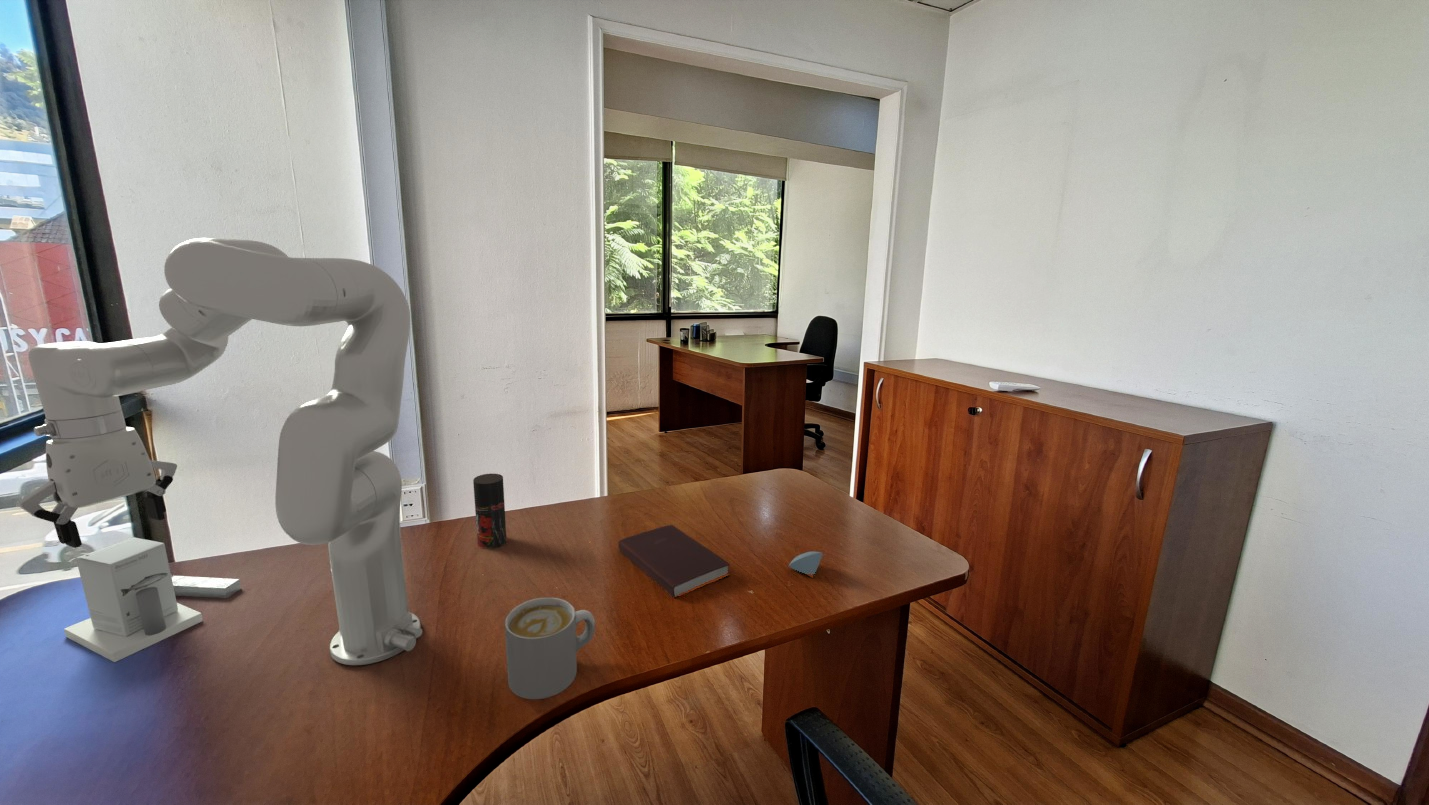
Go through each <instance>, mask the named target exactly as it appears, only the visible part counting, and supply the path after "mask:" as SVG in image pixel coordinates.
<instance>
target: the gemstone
mask: <svg viewBox="0 0 1429 805" xmlns="http://www.w3.org/2000/svg"><path fill="white" fill-rule="evenodd" d="M823 554H824V553H823V552H821V551H814V550H813V551H807V552H805V553H804V552H803V553H802V554H799V555H797V556H795V557H794V558H793V559H792V560H791V561H790V563H789V564H788V567H789V568H790V569H792V570H794V571H796V570H797V571H796V572H798V571H799V572H798V573H800V572H802V573H805V574H811V575H812V574H815V575H816V573H815V572H817V570H818V568H819V565H820V563H821V560H822V557H823ZM802 573H801V574H802Z"/></svg>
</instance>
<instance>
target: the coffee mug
mask: <svg viewBox="0 0 1429 805" xmlns="http://www.w3.org/2000/svg"><path fill="white" fill-rule="evenodd" d="M581 621H584V624H585V627H584V631H583V632H582V633H581V634H579V635H577V631H576V630H577V626H578V624H579V623H580V622H581ZM595 629H596V620H595V617H594V616H593V613H592V612H590V611H589V610H587V609H580V610H576V609H575V607H574V606H573V605H572V604H571V603H570V602H569V601H567V600H564V599H563V598H562V599H561V598H559V597H550V596H549V597H538V598H533V599H530V600H527V601H524V602H522V603H520V604H519V605H516V606H515V607H514V608H513V609H512V610H511V611H509V612H508V614H507V616H506V617H505V621H504V635H505V651H506V652H505V653H506V667H507V668H506V669H507V681H508V682H507V683H508V687H509V689H510V691H511V692H512V693H513V694H514V695H516V696H517V697H519V698H522V699H525V700H526V699H527V700H541V699H542V700H543V699H547V698H551V697H553V696H556V695H558V694H560V693H562V692H564V690H566V689H567V688H569V686H570V685H572V683H573V682H574V681H575V678H576V677H577V673H578V670H577V669H578V666H577V664H578V663H577V662H578V661H577V653H578V651H579V650H580V649H582V648H583V647H584V646H585V645H587V644H588V643H589V642H590V641H591V640H592V639H593V637H594V635H595V631H596V630H595Z"/></svg>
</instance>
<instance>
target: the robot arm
mask: <svg viewBox="0 0 1429 805" xmlns="http://www.w3.org/2000/svg"><path fill="white" fill-rule="evenodd" d="M163 273H164V278H165V280H166V283H167V285H168V287H169V289H167V290H165V292H164V293H162V295H161V296H160V298H159V301H158V308H159V310H160V311H159V312H160V314H161V316H162V318H163V320H165V322H166V323H167V324H168V325H169V326H170V328H169V329H167V330H166V331H165V332H162V333H161V334H158V335H156V336H150V337H141V338H133V339H125V340H118V341H111V342H103V343H98V342H95V341H84V340H83V341H61V342H59V341H58V342H51V343H44V344H38V345H36V346H33V347H32V348H31V349H30V350H28V355H27V356H28V362H29V365H30V367H31V372H32V375H33V379H34V382H35V386H36V390H37V393H38V397H39V400H40V402H41V407H42V410H43V412H44V413H43V414H44V415H45V419H43V421H44V423H43V424H42V425H40V426H35V427H33V432H34V434H35V436H37V437H41V436H45V437H47V436H48V437H50V438H51V439H48V440H46V443H45V463H46V464H45V465H46V472H47V480H48V482H47V483H45V484H43V485H42V486H40V487H39V488H37V489H36V490H34V491H32V492H30V493H29V494H28V495H26V496H24V497H23V498H21V499H20V500H18V501H17V502H16V506H17V507H19V508H20V509H22V510H23V511H24V512H26V513H28V514H30V515H31V516H32V517H34V518H37V519H40V520H44V521H47V522H51V523H53V525H54V528H55V532H56V535H57V539H58V541H59V543H60V544H63V545H66V546H68V547H71V548H74V549H76V548H79V547H81V546H82V545H83V543H82V539H81V537H80V532H79V530H78V526H77V523H76V522H75V520H71V518H72V517H73V516H74V514H75V513H76V512H77V510H78V509H80V508H81V509H82V508H87V507H91V506H94V505H98V504H103V503H105V502H109V501H113V500H116V499H120V498H124V497H127V496H131V495H134V494H137V493H141V492H145V493H146V494H144V496H143V500H144V503H145V506H146V511H147V516H148V518H149V519H152V520H156V521H164V520H165V514H164V513H166V512H167V509H166V505H165V501H164V497H163V496H164V495H165V494H166V490H167V489H168V487H169V486H170V485H171V483H172V482H173V481H174V476H175V474H176V471H177V468H178V465H177V463H173V462H169V461H160V460H154V459H153V460H152V459H151V458H150V456H149V454H148V452H147V450H146V447H145V445H144V442H143V440H142V439H141V437H140V435H139V433H138V432H137V430H136V428H135V427H131V426H127V425H126V420H125V416H124V412H123V409H122V405H121V400H120V397H121V396H126V395H131V394H136V393H139V392H142V391H147V390H151V389H157V388H162V387H167V386H172V385H176V384H178V383H179V384H180V383H181V382H184V381H186V380H188V379H191V378H192V377H194V376H196V375H197V374H199V373H200V372H202V371H203V370H205V369H206V368H207V367H209V366H210V365H212V364H214V362H216V361H217V360H219V359H220V358H221V357H222V355H224V352H225V351H226V349H227V347H228V344H229V337H230V336H231V335H232V334H233V333H235V332H236V331H238V330H239V329H241V328H242V327H243V326H245V325H246V324H247V323H249V322H250V321H252V320H256V321H261V322H264V323H265V322H266V323H270V324H275V325H282V326H289V327H310V326H319V325H326V324H333V323H340V322H346V324H347V327H346V328H347V329H346V331H345V332H344V335H343V336H342V338H341V340H340V342H339V345H338V348H337V350H336V354H335V358H334V372H333V379H332V386H331V388H330V391H328V393H327V394H326V395H324V396H320V397H317V398H314V399H312V400H309V401H307V402H305V403H303V404H301V405H299V406H298V407H297V408H295V409H294V410H293V411H292V412H290V414H289V415H288V416H287V418H286V419H285V421H284V423H283V425H282V428H281V429H280V430H281V431H280V432H279V437H278V438H279V439H278V446H277V447H278V448H277V463H276V464H277V467H276V478H275V479H276V480H275V481H276V482H275V484H276V485H275V497H274V498H275V504H274V505H275V506H274V507H275V513H276V518H277V520H278V523H279V525H280V528H281V529H282V530H283V532H284V533H285V534H286V535H287V536H288V537H289V538H291V540H293V541H295V542H297V543H300V544H302V545H308V546H317V545H323V544H327V543H328V556H329V564H330V572H331V578H332V586H333V592H334V600H335V608H336V613H337V620H338V621H337V622H338V627H339V628H338V629H339V630H338V632H336V634H335V635H334V636H333V637H332V639H331V640H330V643H329V652H330V653H329V654H330V657H331V658H332V659H333V660H334V661H335V662H337V663H339V664H343V665H346V666H363V665H371V664H375V663H378V662H379V663H380V662H382V661H384V660H387V659H390V658H392V657H395V656H397V655H398V654H400V653H402V652H403V651H406V652H410V651H412V650H413V649H414V648H415V647H416V644H417V639H418V638H420V637H421V636H422V634H423V628H421V627H422V626H421V625H422V624H421V620H420V618H419V617H418V616H417V615H416V614H414V613H412V612H410V611H409V606H408V605H409V604H408V595H407V585H406V576H405V566H404V559H403V558H404V557H403V548H402V536H401V526H400V524H401V522H400V519H401V517H400V513H401V503H402V502H401V500H402V492H403V491H402V484H403V482H402V477H401V472H400V470H399V468H398V466H397V464H396V463H395V461H393V459H392V458H390V457H389V456H388V455H386V454H384V453H382V452H379V451H376V450H377V449H380V448H381V447H383V446H384V445H386V444H387V443H389V442H390V441H391V440H392V439H393V438H394V437H395V435H396V433H397V432H398V427H399V422H400V413H401V405H402V396H403V386H404V378H405V377H404V376H405V364H406V357H407V351H408V345H409V338H410V332H411V311H410V306H409V303H408V300H407V298H406V295H405V294H404V291H403V290H402V288H401V287H400V286H399V285H398V283H397V282H396V280H395V279H393V278H392V277H391V276H390V275H389V274H388V273H387V272H385V271H384V270H382V269H381V268H379V267H378V266H376V265H373V264H371V263H369V262H365V261H362V260H358V259H353V258H352V259H351V258H339V257H335V258H334V257H323V258H322V257H321V258H320V257H290V256H288V255H287V254H286V253H285V252H284V251H282V250H281V249H279V248H278V247H275V246H274V245H272V244H269V243H266V242H263V241H258V240H249V239H231V238H215V237H214V238H213V237H200V238H192V239H189V240H186V241H184V242H181V243H179V244H178V245H176V246H175V247H174V248H173V249H172V250H171V251H170V252H169V254H168V256H166V259H165V263H164V272H163ZM154 469H155V470H160V471H161V473H160V476H158V478H157V479H156V475H155V471H154ZM50 496H52V498H53V500H54V501H55V503H56V505H55V506H54V507H53V509H52V511H50V510H48V509H47V510H46V509H45V508H44V507H43V506H41V504H40V503H41V502H42V501H44V500H45V499H47V498H49V497H50Z"/></svg>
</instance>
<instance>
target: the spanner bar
mask: <svg viewBox="0 0 1429 805" xmlns="http://www.w3.org/2000/svg"><path fill="white" fill-rule="evenodd" d="M171 578H172V583H173V587H174V592H175V596H179V597H196V598H197V597H198V598H216V599H217V598H220V599H228V598H229V597H232V595H234V594H235V593H237V592H238V591H240V590H241V589H242V585H241V580H240V578H227V577H226V578H225V577H224V578H222V577H207V576H204V577H203V576H187V575H174V574H173V573H171Z"/></svg>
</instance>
